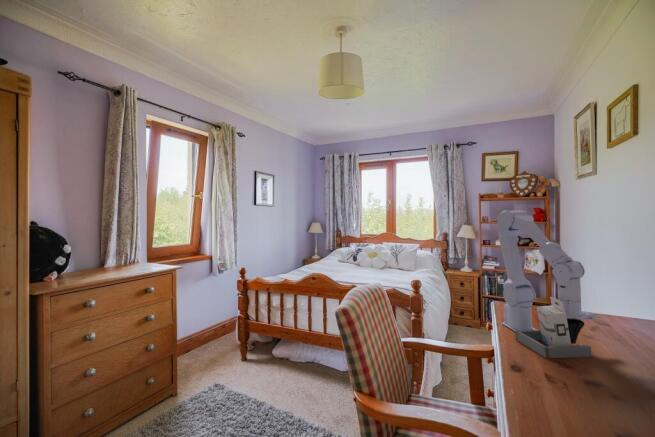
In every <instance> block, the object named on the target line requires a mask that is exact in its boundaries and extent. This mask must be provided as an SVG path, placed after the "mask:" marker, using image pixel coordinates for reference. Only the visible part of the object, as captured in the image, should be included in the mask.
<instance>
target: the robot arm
mask: <svg viewBox="0 0 655 437" xmlns="http://www.w3.org/2000/svg"><path fill="white" fill-rule="evenodd" d="M496 222H497V228H498V230H497V236H498V240H499V244H500V249H501V254H502V258H503V264H504V267H505V272H506V273H505V274H506V277H507V279H506V280H505V282H504V283H503V284H502V287H503V290H502V296H503V300H504V301H505V302H506V303H504V306H503V322H501V324H502V325H504V326H505V327H507V328H509V329H510V330H512V331H514V332H515V333H516V331H525V330H538V329H537V328H534V327H533V321H532V320H533V319H532V318H533V317H532V315H533V314H532V305H533V303H534V302H535V300H536V299H537V294H536V293H537V292H536V291H535V288H533V286H532V283H531V281H530V280H529V279H527V278H526V277H525V274H524V269H523V265H522V260H521V256H520V252H519V248H518V244H517V239H516V236H517V234H518V233H519V232H521V231H522V232H524V233H525V234H526V235H527V236H528V237H529V238H530V239H531V240H532V241H533V242H534V243H535V244H536V245H537V246H538V247H539V250H538V252H539V253H540V255H541V256H542V257H543V258H544V260H545V261H546V262H547V264H549V265H550V267H552V269H551V271H552V275H553V276H554V278H555V281H556V284H557V300H559V301H561V302H563V303H564V307H565V313H566V317H567V323H568V329H569V334H570V340H571V345H574V344H576V343H577V339H578V337H579V335H580V332H581V330H582V329H583V328H584V326H585V322H584V321H583V320H593V321H595V320H597V319H596V318H597V317H596V313H595V312H593V311H582V293H581V292H582V288H581V279H582V278H583V277H584V275H585V272H586V271H585V268H584V265H582V263H581V262H580V261H578V260H574V259H573V258H572V257H571V256H569V255H568V254H567V252H565V251H564V250H563V249H562V245H561V244H560V243H557V242H555V241H550V240H549V239H548V237H547V236H546V235H545V233H544V232H543V231H542V229H540V227H539V226H538V225H537V223H536V222H535V221H534V217H533V216H532V214H530V212H529V211H527V210H525V209H521V210H502V211H501V212H500V213H499V214H498V216H497V218H496ZM557 305H559V304H558V303H557ZM559 306H560V305H559Z"/></svg>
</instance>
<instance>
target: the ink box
mask: <svg viewBox="0 0 655 437" xmlns="http://www.w3.org/2000/svg"><path fill="white" fill-rule="evenodd" d="M549 298H550V303H551V305H542V306H536V311H537V317H538V322H539V328H540V329H539V330H541V336H542V340H541V341H542V342H543V344H544V345H545V346H572V344H571V340H570V334H569V329H568V323H567V317H566V313H565V307H564V303H563V302H561V301H559V300H558V298H555V297H552V296H550V297H549ZM558 304H559V305H560V306H559V305H558Z"/></svg>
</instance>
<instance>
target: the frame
mask: <svg viewBox="0 0 655 437" xmlns="http://www.w3.org/2000/svg"><path fill="white" fill-rule="evenodd" d="M515 340H516V341H518V342H519V343H520V344H522V345H524V346H526V347H527V348H529V349H530V350H532V351H533V352H535V353H537V354H539V355H540V356H542V357H543V358H545V359H562V358H566V359H567V358H568V359H570V358H589V357H590V358H592V355H593V354H592V346H591V345H589V344H587V345H586V344H585V345H583V344H582V345H578V344H577V345H571V346H547V345H546V344H544V343H541V342H539V341H542V336H541V330H540V329H537V330H525V331H516V332H515Z"/></svg>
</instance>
